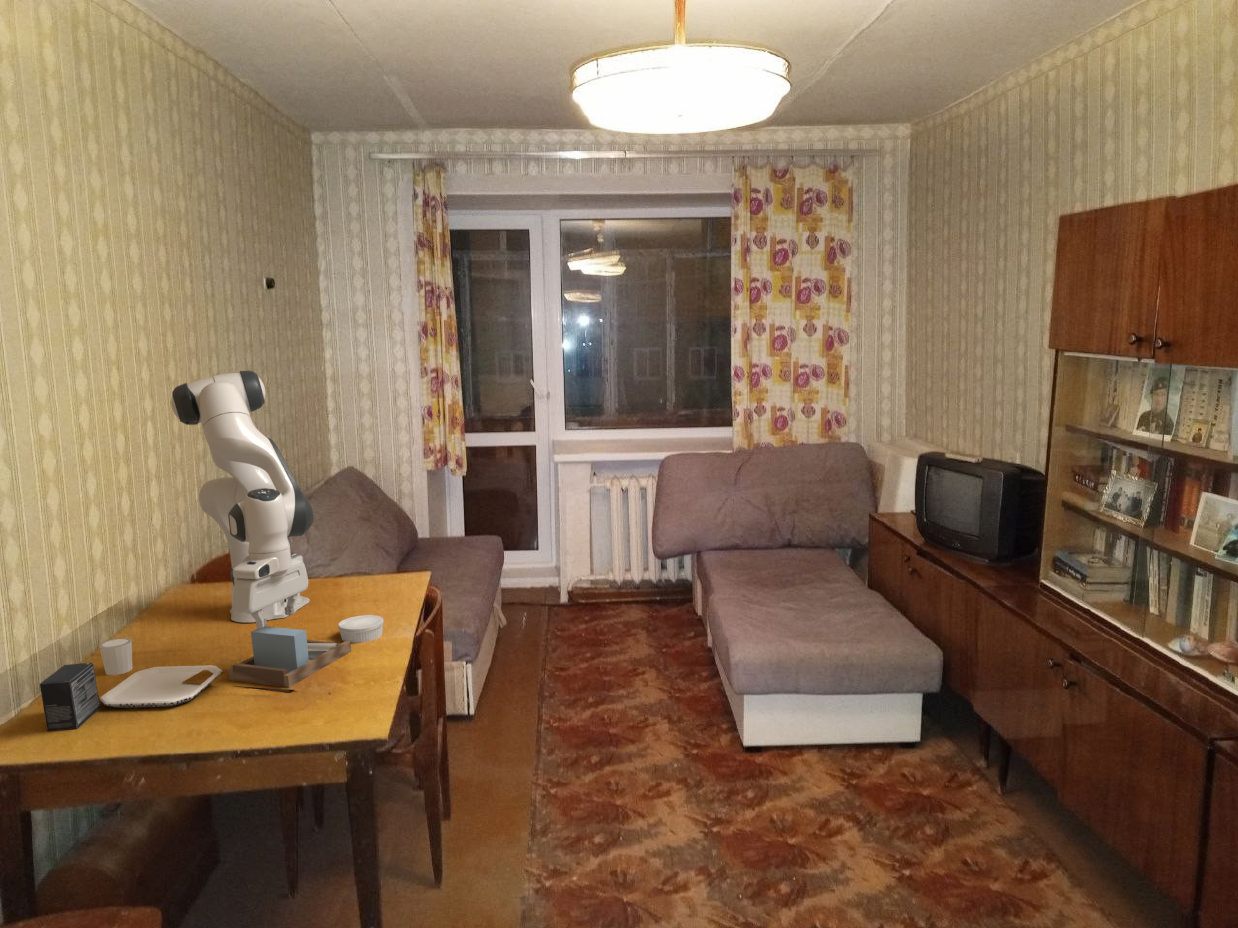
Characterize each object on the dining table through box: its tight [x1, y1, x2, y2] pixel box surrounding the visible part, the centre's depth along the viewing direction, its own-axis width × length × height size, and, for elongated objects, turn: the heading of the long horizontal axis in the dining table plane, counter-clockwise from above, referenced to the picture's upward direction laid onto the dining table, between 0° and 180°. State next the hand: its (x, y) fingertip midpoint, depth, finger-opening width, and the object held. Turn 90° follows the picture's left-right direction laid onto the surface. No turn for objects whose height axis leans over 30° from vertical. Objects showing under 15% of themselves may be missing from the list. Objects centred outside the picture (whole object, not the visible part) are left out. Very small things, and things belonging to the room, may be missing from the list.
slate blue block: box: [250, 625, 310, 673], centre depth 214 cm, size 4×12×11 cm, turn 70°
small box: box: [39, 662, 101, 732], centre depth 195 cm, size 11×6×10 cm, turn 5°
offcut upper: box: [307, 642, 337, 660], centre depth 224 cm, size 5×11×2 cm, turn 83°
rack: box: [227, 639, 352, 694], centre depth 218 cm, size 23×16×5 cm
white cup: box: [98, 637, 133, 676], centre depth 223 cm, size 7×7×7 cm
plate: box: [99, 664, 224, 709], centre depth 209 cm, size 21×21×2 cm
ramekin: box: [337, 614, 385, 644], centre depth 237 cm, size 11×11×5 cm
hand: (276, 620), depth 213 cm, fingers open, 8 cm apart
